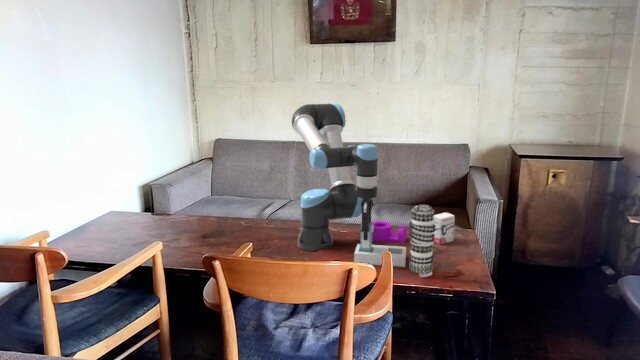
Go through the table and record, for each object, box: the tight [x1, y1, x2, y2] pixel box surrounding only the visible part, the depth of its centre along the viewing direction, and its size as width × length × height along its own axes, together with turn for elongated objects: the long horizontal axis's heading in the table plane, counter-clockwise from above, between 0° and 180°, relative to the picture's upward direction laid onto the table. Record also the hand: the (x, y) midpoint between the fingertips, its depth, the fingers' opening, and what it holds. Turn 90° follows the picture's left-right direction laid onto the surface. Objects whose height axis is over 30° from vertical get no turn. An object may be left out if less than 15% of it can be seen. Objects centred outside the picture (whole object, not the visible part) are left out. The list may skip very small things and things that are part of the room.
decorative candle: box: [408, 204, 436, 278], centre depth 169 cm, size 9×9×25 cm
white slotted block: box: [353, 243, 407, 268], centre depth 181 cm, size 19×10×5 cm, turn 79°
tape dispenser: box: [371, 220, 408, 243], centre depth 206 cm, size 16×10×6 cm, turn 67°
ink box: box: [433, 211, 456, 246], centre depth 201 cm, size 8×5×12 cm, turn 123°
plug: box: [360, 223, 374, 252], centre depth 180 cm, size 5×4×14 cm
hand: (366, 245), depth 181 cm, fingers closed on plug, 4 cm apart
